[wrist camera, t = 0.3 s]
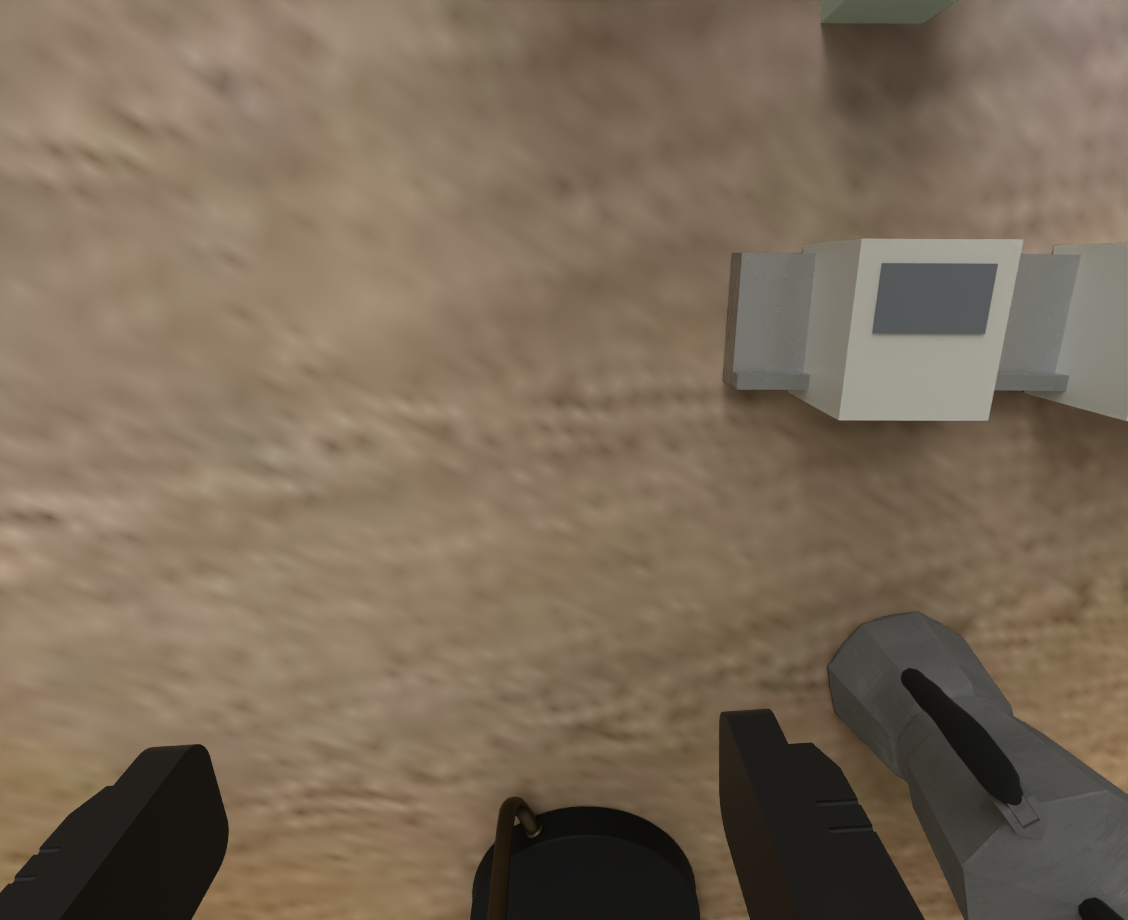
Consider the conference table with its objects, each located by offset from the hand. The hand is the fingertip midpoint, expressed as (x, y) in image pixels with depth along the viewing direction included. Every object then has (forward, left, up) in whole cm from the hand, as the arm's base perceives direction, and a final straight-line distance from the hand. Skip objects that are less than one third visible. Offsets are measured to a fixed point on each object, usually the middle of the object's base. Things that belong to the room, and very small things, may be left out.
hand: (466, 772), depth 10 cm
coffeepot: (+17, +23, -28) cm, 40 cm away
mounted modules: (-5, +25, -28) cm, 38 cm away
